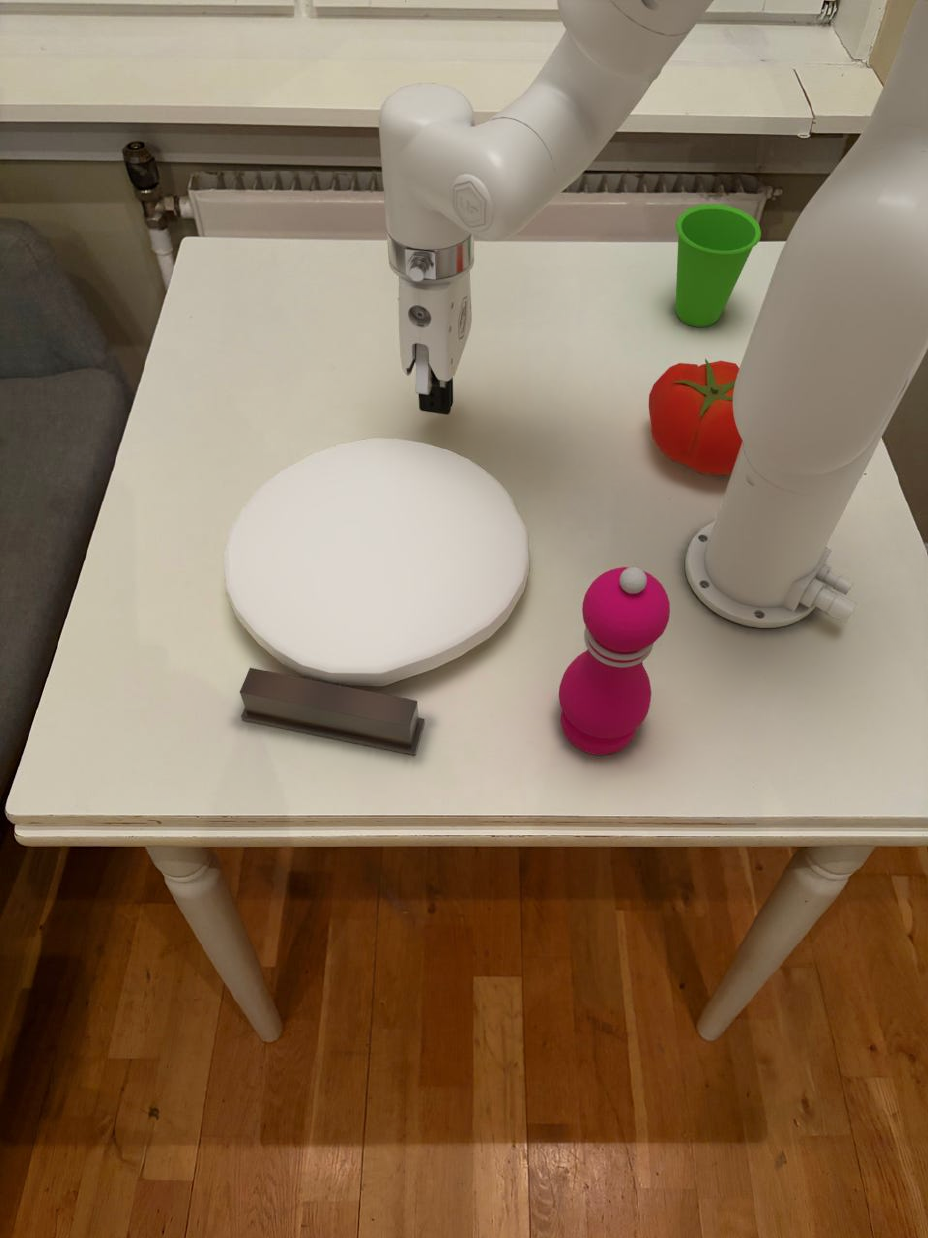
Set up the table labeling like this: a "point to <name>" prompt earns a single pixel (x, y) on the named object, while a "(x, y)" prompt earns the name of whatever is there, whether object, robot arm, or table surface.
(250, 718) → the rail
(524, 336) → the table surface
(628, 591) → the pepper mill
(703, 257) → the cup
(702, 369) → the tomato
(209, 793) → the table surface
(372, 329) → the table surface
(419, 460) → the plate
